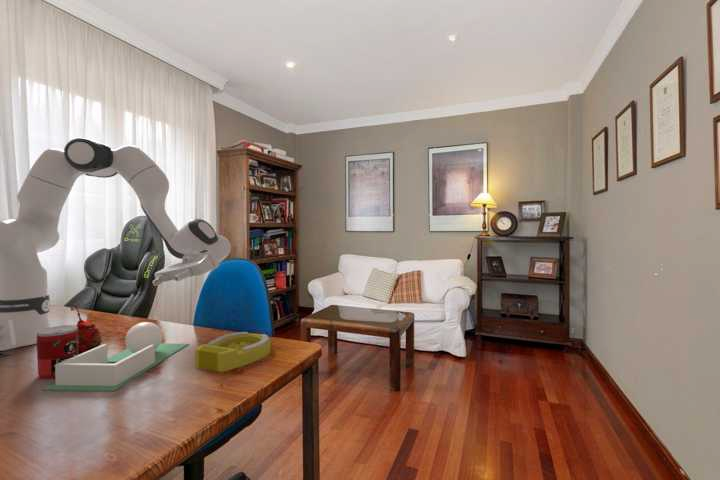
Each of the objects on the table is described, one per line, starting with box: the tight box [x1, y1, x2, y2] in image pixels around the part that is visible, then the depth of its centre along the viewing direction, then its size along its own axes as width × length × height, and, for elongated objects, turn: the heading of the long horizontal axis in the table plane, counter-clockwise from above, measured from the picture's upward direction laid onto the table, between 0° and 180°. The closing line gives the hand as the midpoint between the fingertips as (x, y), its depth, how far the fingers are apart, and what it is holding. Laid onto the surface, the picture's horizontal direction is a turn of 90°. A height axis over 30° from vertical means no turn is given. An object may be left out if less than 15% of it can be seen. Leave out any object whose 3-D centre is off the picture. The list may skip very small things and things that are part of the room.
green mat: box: [42, 342, 189, 392], centre depth 91 cm, size 31×16×1 cm, turn 178°
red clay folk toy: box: [70, 301, 102, 355], centre depth 100 cm, size 8×7×15 cm
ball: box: [124, 321, 163, 353], centre depth 97 cm, size 9×9×9 cm
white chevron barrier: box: [55, 343, 155, 386], centre depth 84 cm, size 14×14×5 cm
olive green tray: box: [194, 331, 271, 373], centre depth 97 cm, size 16×21×5 cm
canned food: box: [36, 324, 79, 380], centre depth 85 cm, size 8×8×11 cm
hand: (165, 281), depth 106 cm, fingers open, 8 cm apart
